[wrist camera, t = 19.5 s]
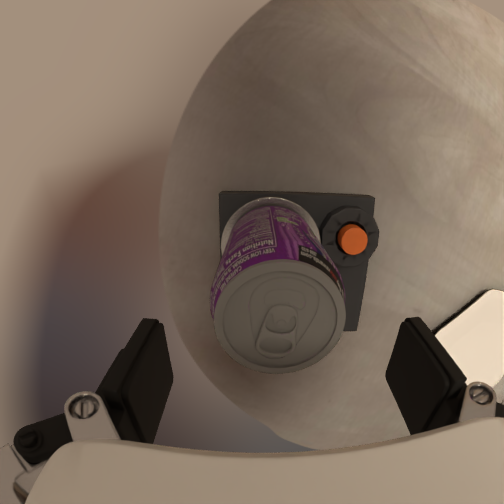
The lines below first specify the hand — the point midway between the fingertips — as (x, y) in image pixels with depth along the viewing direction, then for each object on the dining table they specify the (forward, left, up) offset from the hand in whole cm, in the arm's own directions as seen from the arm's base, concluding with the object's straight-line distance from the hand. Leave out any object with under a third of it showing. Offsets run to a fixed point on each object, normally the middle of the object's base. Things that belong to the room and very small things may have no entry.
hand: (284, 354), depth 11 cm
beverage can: (0, 0, -15) cm, 15 cm away
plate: (+32, -19, -18) cm, 41 cm away
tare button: (+7, 0, -15) cm, 17 cm away
